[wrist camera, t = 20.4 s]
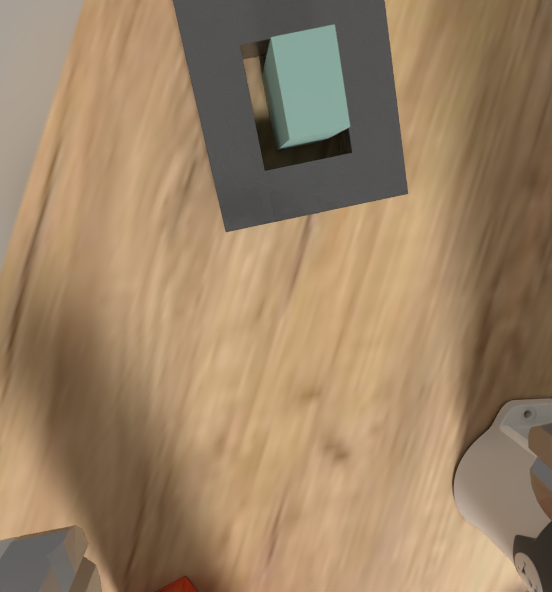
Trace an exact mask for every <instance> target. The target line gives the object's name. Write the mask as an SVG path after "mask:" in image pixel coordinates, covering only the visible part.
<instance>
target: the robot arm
mask: <svg viewBox="0 0 552 592" xmlns="http://www.w3.org/2000/svg"><path fill="white" fill-rule="evenodd" d="M525 411H527V412H526V413H525V414H524V412H525ZM454 497H455V501H456V505H457V507H458V509H459V511H460V513H461V514H462V516H463V517H464V518H465V520H466V521H467V522H468V523H470V524H471V525H472V526H474V527H475V528H476V529H478V530H479V531H480V532H482V533H483V534H484V535H485V536H486V537H487V538H489V539H490V540H491V541H492V542H493V543H494V544H495V545H496V546H497V547H498V548H499V549H500V550H501V551H502V552H503V553H504V554H505V556H506V557H507V558H508V559H509V560H510V561H511V562H512V563H513V564H514V565H515V567H516V570H517V572H518V573H519V575H520V576H521V578H522V580H523V582H524V583H525V585H526V587H527V588H528V590H529V591H530V592H552V398H548V399H526V400H512V401H509V402H507V403H506V404H505V405H504V406H503V407H502V408H501V410H500V411H499V413H498V415H497V416H496V418H495V420H494V422H493V424H492V426H491V427H490V428H489V429H488V430H487V431H486V432H485V433H484V434H483V435H481V436H480V437H479V438H478V439H477V440H476V441H475V442H474V443H473V444H472V445H471V446H470V448H469V449H468V450H467V452H466V453H465V454H464V456H463V458H462V459H461V461H460V464H459V466H458V468H457V471H456V475H455V480H454ZM87 546H88V541H87V539H86V537H85V534H84V532H83V529H82V528H80V527H78V526H76V525H75V526H70V527H65V528H59V529H54V530H49V531H44V532H39V533H33V534H28V535H23V536H20V537H14V538H9V539H4V540H0V592H102V588H101V581H100V575H99V572H98V569H97V566H96V564H94V563H93V562H91V561H90V560H88V559H87V558H85V557H84V554H85V551H86V549H87Z"/></svg>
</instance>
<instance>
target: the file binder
mask: <svg viewBox="0 0 552 592" xmlns="http://www.w3.org/2000/svg"><path fill="white" fill-rule="evenodd" d="M156 592H197V590H196V589H195V588H194V586H193V585H192V584H191V582H190V581H189V580H188V578H187V577H186V576H185V577H183V578H181V579H179V580H177V581H175V582H173V583H171V584H169V585H168V586H166V587H164V588H162V589H160V590H158V591H156Z"/></svg>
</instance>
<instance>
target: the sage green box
mask: <svg viewBox="0 0 552 592" xmlns="http://www.w3.org/2000/svg"><path fill="white" fill-rule="evenodd" d="M262 79H263V84H264V89H265V94H266V99H267V105H268V110H269V115H270V120H271V125H272V131H273V136H274V141H275V146H276V151H279V150H284V149H289V148H293V147H298V146H303V145H308V144H313V143H317V142H322V141H324V140H326V139H328V138H330V137H332V136H334V135H335V134H337V133H339V132H341V131H343V130H345V129H347V128H349V127H350V121H349V115H348V108H347V102H346V95H345V88H344V82H343V75H342V69H341V62H340V55H339V49H338V42H337V35H336V29H335V24H334V25H329V26H324V27H319V28H314V29H309V30H304V31H299V32H294V33H289V34H284V35H279V36H274V37H271V39H270V43H269V47H268V52H267V56H266V61H265V65H264V69H263V74H262Z"/></svg>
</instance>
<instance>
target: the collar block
mask: <svg viewBox="0 0 552 592" xmlns="http://www.w3.org/2000/svg"><path fill="white" fill-rule="evenodd" d="M173 3H174V7H175V12H176V16H177V20H178V25H179V29H180V34H181V38H182V42H183V47H184V51H185V55H186V60H187V64H188V69H189V73H190V77H191V82H192V86H193V91H194V95H195V99H196V104H197V108H198V112H199V117H200V121H201V126H202V130H203V134H204V139H205V143H206V147H207V152H208V156H209V161H210V165H211V169H212V174H213V178H214V183H215V187H216V191H217V196H218V200H219V204H220V209H221V213H222V218H223V222H224V226H225V231H226V232H229V231H234V230H239V229H243V228H248V227H253V226H258V225H262V224H267V223H272V222H277V221H281V220H286V219H291V218H296V217H300V216H305V215H310V214H315V213H319V212H324V211H329V210H334V209H338V208H343V207H348V206H353V205H357V204H362V203H367V202H372V201H376V200H381V199H386V198H391V197H395V196H400V195H405V194H408V189H407V181H406V173H405V164H404V156H403V148H402V140H401V132H400V124H399V115H398V107H397V99H396V91H395V83H394V75H393V66H392V58H391V50H390V42H389V34H388V26H387V17H386V9H385V1H384V0H173ZM334 24H335V29H336V35H337V42H338V49H339V55H340V62H341V69H342V75H343V82H344V88H345V95H346V102H347V108H348V115H349V121H350V127H349V128H347V129H345V130H343V131H341V132H339V133H337V134H338V141H339V147H340V154H341V155H339V156H334V157H330V158H325V159H320V160H315V161H310V162H305V163H301V164H296V165H291V166H286V167H281V168H276V169H272V170H267V171H265V170H264V165H263V160H262V155H261V150H260V145H259V140H258V135H257V130H256V124H255V119H254V114H253V109H252V104H251V99H250V94H249V89H248V84H247V79H246V74H245V69H244V64H243V59H246V58H251V57H256V56H262V55H267V52H268V47H269V43H270V39H271V37H274V36H279V35H284V34H289V33H294V32H299V31H304V30H309V29H314V28H319V27H324V26H329V25H334Z"/></svg>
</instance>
